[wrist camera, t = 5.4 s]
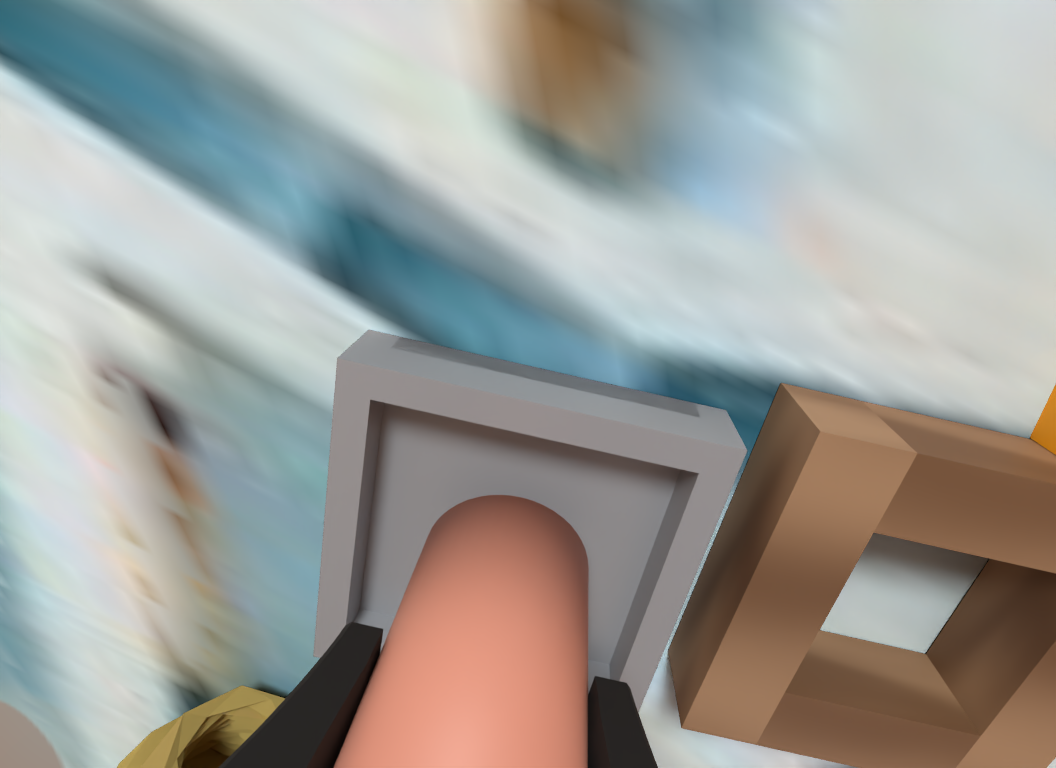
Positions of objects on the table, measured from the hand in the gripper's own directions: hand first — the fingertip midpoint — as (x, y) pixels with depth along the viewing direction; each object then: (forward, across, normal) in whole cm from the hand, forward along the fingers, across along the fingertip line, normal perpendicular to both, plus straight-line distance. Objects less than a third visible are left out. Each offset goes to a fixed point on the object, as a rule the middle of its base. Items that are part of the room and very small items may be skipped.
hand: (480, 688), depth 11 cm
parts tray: (+6, 0, 0) cm, 6 cm away
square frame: (+6, -10, -1) cm, 11 cm away
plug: (+3, 0, 0) cm, 3 cm away
